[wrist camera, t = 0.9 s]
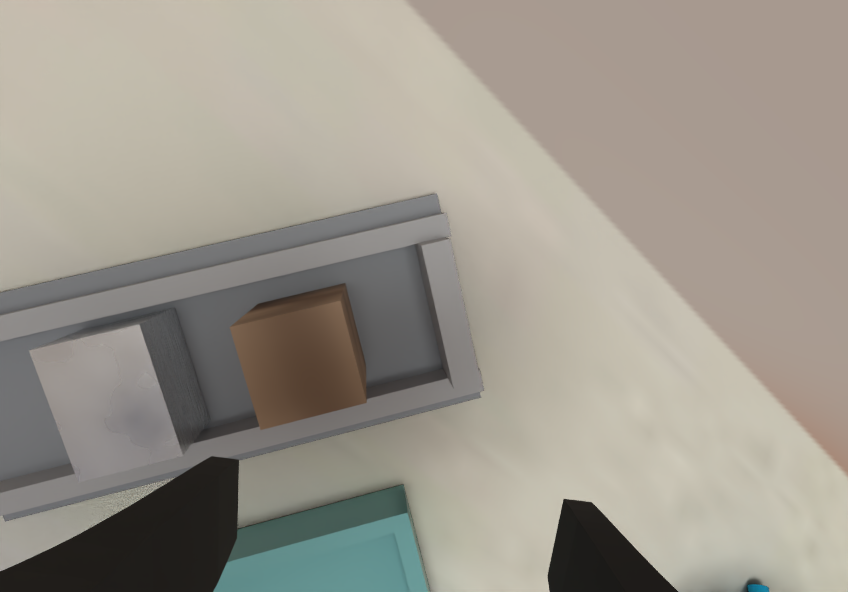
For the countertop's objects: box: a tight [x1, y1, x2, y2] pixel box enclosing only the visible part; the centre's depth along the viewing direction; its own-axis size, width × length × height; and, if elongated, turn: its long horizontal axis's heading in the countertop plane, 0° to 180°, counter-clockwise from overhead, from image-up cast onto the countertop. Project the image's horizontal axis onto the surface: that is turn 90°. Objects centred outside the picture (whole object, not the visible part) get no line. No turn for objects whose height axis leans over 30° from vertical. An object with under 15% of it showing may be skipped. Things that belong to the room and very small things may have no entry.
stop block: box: [230, 283, 367, 430], centre depth 21 cm, size 4×4×5 cm
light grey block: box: [29, 308, 210, 483], centre depth 21 cm, size 4×5×4 cm
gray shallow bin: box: [0, 194, 484, 521], centre depth 22 cm, size 22×10×4 cm, turn 103°
